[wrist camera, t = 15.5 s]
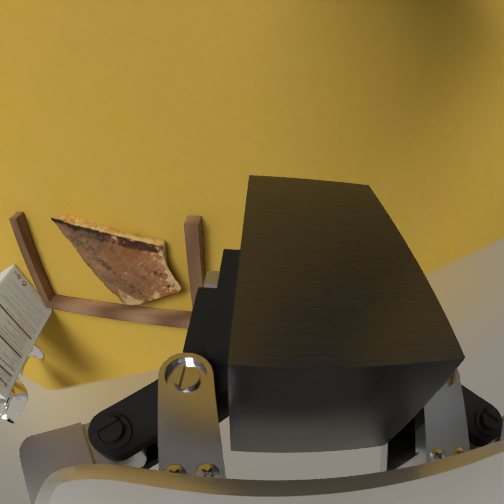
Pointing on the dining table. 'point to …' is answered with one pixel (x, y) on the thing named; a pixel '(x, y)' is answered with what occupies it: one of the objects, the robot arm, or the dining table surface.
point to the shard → (121, 260)
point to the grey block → (329, 322)
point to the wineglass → (17, 394)
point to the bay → (112, 309)
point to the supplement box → (17, 324)
